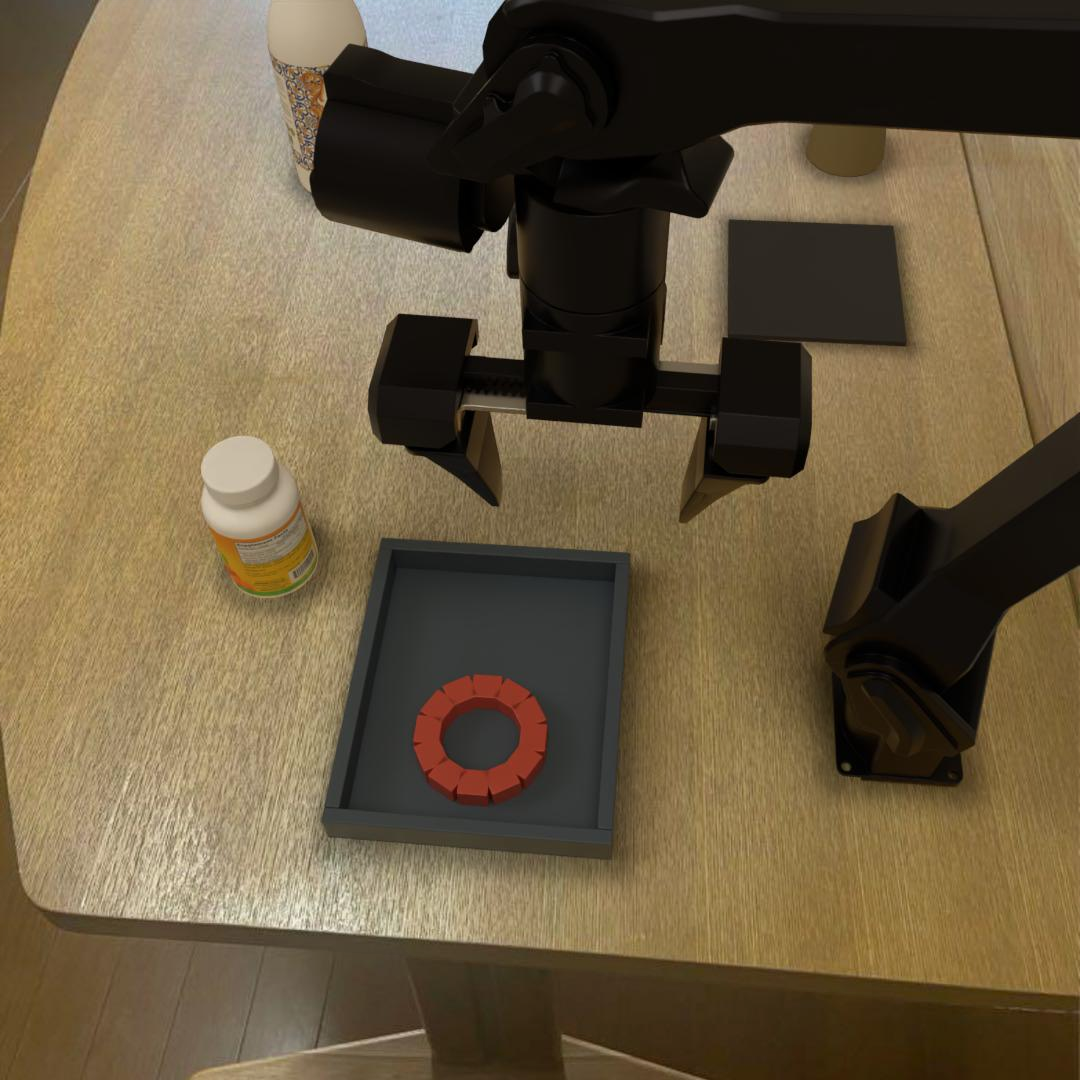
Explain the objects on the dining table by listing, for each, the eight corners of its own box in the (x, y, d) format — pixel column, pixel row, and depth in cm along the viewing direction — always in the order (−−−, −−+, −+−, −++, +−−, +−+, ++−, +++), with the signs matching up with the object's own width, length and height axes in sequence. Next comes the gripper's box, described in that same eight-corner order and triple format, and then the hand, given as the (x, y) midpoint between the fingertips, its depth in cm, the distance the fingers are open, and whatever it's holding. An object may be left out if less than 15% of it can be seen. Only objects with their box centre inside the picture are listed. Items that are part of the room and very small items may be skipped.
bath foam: (327, 215, 91) (271, -43, 74) (283, 170, 94) (220, -86, 78) (404, 179, 93) (366, -78, 77) (358, 136, 96) (313, -119, 80)
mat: (905, 346, 81) (907, 342, 80) (727, 338, 82) (728, 333, 81) (892, 229, 88) (893, 225, 87) (728, 223, 89) (729, 218, 88)
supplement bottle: (227, 538, 73) (184, 434, 65) (315, 521, 74) (282, 417, 66) (233, 610, 70) (188, 511, 62) (324, 592, 70) (291, 491, 63)
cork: (882, 180, 91) (915, 48, 82) (802, 172, 92) (826, 40, 83) (885, 132, 94) (917, 0, 85) (808, 125, 95) (831, -7, 86)
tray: (611, 863, 60) (612, 845, 58) (329, 840, 62) (320, 821, 59) (629, 576, 70) (630, 552, 68) (387, 561, 72) (381, 536, 70)
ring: (540, 811, 62) (540, 800, 60) (407, 800, 62) (404, 789, 61) (552, 691, 66) (552, 679, 64) (427, 682, 66) (424, 670, 65)
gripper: (835, 148, 50) (782, 401, 62) (397, 123, 51) (433, 373, 64) (838, 338, 43) (779, 576, 56) (338, 302, 45) (391, 540, 58)
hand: (589, 507), depth 59 cm, fingers open, 9 cm apart
